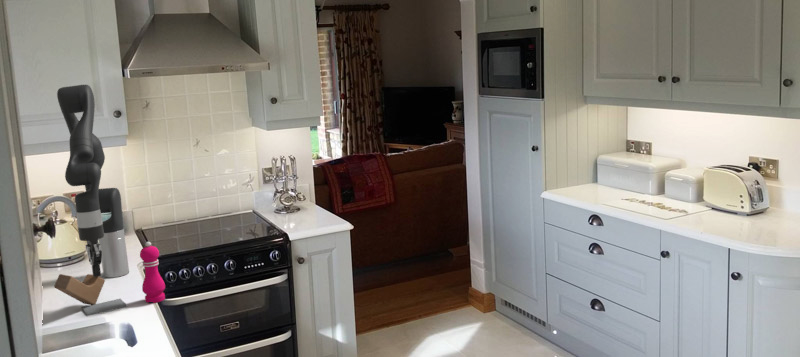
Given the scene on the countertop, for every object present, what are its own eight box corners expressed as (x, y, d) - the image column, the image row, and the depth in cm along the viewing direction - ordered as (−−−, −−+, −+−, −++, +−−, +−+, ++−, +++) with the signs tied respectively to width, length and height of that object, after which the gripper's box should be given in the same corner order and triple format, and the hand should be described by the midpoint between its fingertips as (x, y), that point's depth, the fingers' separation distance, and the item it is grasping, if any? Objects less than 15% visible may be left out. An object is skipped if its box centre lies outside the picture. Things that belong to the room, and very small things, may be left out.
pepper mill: (144, 305, 233) (137, 245, 230) (143, 299, 240) (135, 241, 236) (167, 301, 236) (160, 242, 233) (165, 295, 242) (158, 237, 239)
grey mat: (82, 309, 233) (82, 307, 233) (120, 300, 240) (120, 298, 240) (87, 315, 226) (87, 313, 226) (127, 306, 233) (126, 304, 233)
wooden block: (93, 277, 240) (64, 260, 224) (105, 280, 240) (77, 262, 224) (83, 303, 237) (53, 287, 221) (95, 306, 236) (65, 289, 220)
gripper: (107, 225, 229) (113, 277, 231) (97, 219, 240) (104, 269, 242) (82, 229, 225) (89, 282, 227) (73, 223, 236) (80, 274, 238)
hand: (97, 275), depth 235 cm, fingers closed
